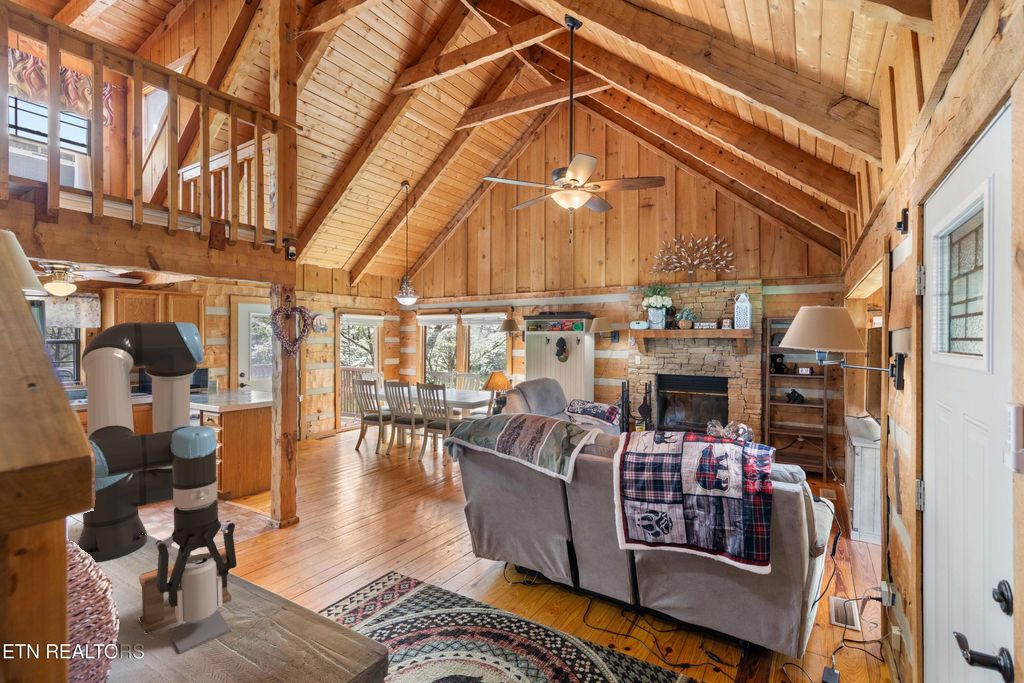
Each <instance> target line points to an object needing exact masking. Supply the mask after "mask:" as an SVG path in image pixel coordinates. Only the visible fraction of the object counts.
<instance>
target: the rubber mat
mask: <svg viewBox="0 0 1024 683" xmlns="http://www.w3.org/2000/svg"><path fill="white" fill-rule="evenodd" d="M230 632H232V628H231V627H230V625H229V624H228V622H227V621H226V620H225V618H224V616H223V615H222V614H221V612H220V611H219V610H218V609H217V610H216V611H215V612H214V613H213V615H212V616H211V617H209V618H208V619H206V620H204V621H201V622H197V623H188V622H185V623H182V624H181V623H180V624H178V625H176V626H175V627H172V628H170V629H168V634H169V636H170V637H171V640H172V642H173V643H174V646H175V647H176V650H177V651H178V653H179V654H183V653H185V652H188V651H189V650H192V649H194V648H196V647H199V646H201V645H203V644H205V643H207V642H210V641H213V640H215V639H217V638H219V637H222V636H224V635H225V634H227V633H230Z"/></svg>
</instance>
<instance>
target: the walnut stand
mask: <svg viewBox="0 0 1024 683" xmlns="http://www.w3.org/2000/svg"><path fill="white" fill-rule="evenodd" d="M220 549H221V548H219V549H218V548H217V550H220ZM220 556H221V558H222V560H223V562H224V563H226V562H227V560H226V554H223V555H220ZM155 570H158V568H156V569H154V570H149V571H146V572H144V573H141V574H140V575H143V574H146V573H149V572H152V571H155ZM217 571H218V569H217V567H216V572H217ZM164 594H165V593H162V594H161V593H159V591H158V589H157V576H156V577H153V578H150V579H147V580H145V585H144V586H141V595H142V596H141V598H142V599H141V601H142V603H141V604H142V615H140V616H138V618H140V621H141V623H142V626H143V628H142V630H143V629H144V631H145V633H148V634H150V633H153V632H155V631H157V630H160V629H162V628H165V627H168V626H170V625H173V624H176V623H179V622H178V621H177V619H176V617H175V607H173V608H172V607H171V606H170V604H169V605H167V606H165V595H164ZM232 598H233V597H232V595H231V594H230V592H229V590H228V585H227V586H226V587H225V588H223V589H222V605H224V604H225V603H228V602H230V601H232ZM140 621H139V622H140ZM142 626H141V627H142ZM144 631H143V632H144ZM152 631H153V632H152ZM149 632H150V633H149ZM145 633H144V634H145Z"/></svg>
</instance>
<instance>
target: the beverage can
mask: <svg viewBox="0 0 1024 683" xmlns="http://www.w3.org/2000/svg"><path fill="white" fill-rule="evenodd" d="M179 586H180V588H181V589H182V596H183V622H185V623H186V622H188V623H197V622H201V621H204V620H206V619H208V618H209V617H211V616H212V615H213V613H214V612H215V611H216V610H218V606H217V573H216V562H215V560H214V558H213V557H212V555H211V554H209V552H206V553H198V554H194V555H192V556H191V555H190V556H189V557H188V559H187V563H186V566H185V569H184V572H183V575H182V578H181V581H180V584H179Z"/></svg>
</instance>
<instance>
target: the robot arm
mask: <svg viewBox="0 0 1024 683" xmlns="http://www.w3.org/2000/svg"><path fill="white" fill-rule="evenodd" d="M203 363H204V350H203V344H202V340H201V335H200V332H199V329H198V326H197V325H196V324H195V323H192V322H179V321H162V322H160V321H157V322H156V321H155V322H148V321H147V322H132V321H131V322H130V321H129V322H128V321H127V322H122V323H118V324H114V325H112V326H109V327H107V328H106V329H103V330H102V331H100V332H98V333H97V334H96V335H95V336H94V337H93V338H92V339H91V340H90V341H89V342H87V345H86V346H85V348H84V349H83V351H82V354H81V369H82V370H83V372H84V373H85V375H87V377H86V379H87V383H86V384H87V385H86V386H87V387H86V388H87V389H86V390H87V392H86V393H87V403H86V404H87V412H86V413H87V420H86V421H87V425H86V426H87V427H86V428H87V431H86V432H87V440H89V442H90V444H91V447H92V449H93V451H94V453H95V458H96V464H95V490H96V500H95V507H94V511H90V512H87V513H84V514H83V513H82V520H83V523H82V524H83V526H82V530H81V533H80V536H79V537H78V538H79V539H78V542H77V544H76V546H77V545H79V547H80V548H81V549H82V550H84V551H85V552H87V553H88V554H90V555H91V556H92V558H93V559H94V560H95V561H96V562H104V561H108V560H109V561H110V560H113V559H117V558H120V557H123V556H127V555H130V554H131V553H134V552H136V551H137V550H139V549H140V548H142V547H143V546H145V545H146V543H147V541H148V532H147V529H146V527H145V525H144V523H143V522H142V520H141V517H140V515H139V507H144V506H149V505H155V504H158V503H161V502H162V503H164V502H168V501H172V502H173V503H172V504H173V505H172V506H173V507H174V509H173V531H172V534H171V536H169V537H168V538H166V539H164V540H161V539H160V540H157V541H155V547H156V549H157V551H158V555H157V556H158V557H157V560H158V561H157V569H158V571H157V589H158V591H159V593H161V594H162V593H164V594H165V593H167V594H168V604H169V605H170V606H171V607H172V608H173V607H175V617H176V619H177V621H178V622H177V623H178V624H181V623H183V622H184V621H183V596H182V589H181V588H180V581H181V578H182V575H183V572H184V569H185V566H186V563H187V559H188V558H189V557H191V553H192V552H194V551H196V550H197V549H200V548H203V549H204V548H207V550H208V553H210V554H211V555H212V557H213V558H214V560H215V562H216V567H217V569H218V571H217V572H216V573H217V608H221V607H222V606H223V604H222V589H223V588H225V587H226V586H227V587H228V575H229V571H230V570H231V569H235V568H236V567H237V556H236V549H235V548H236V547H235V541H234V532H235V528H236V524H235V523H234V522H233V521H232V520H230V519H228V520H226V522H225V521H224V522H221V521H220V520H219V505H218V503H219V501H217V498H218V481H217V480H218V478H217V477H218V476H217V447H218V442H217V436H216V430H215V428H213V427H211V426H206V425H195V426H194V425H190V424H191V416H190V415H191V376H192V375H194V374H195V373H196V371H197V370H198V369H197V366H198V365H201V364H203ZM143 367H144V373H145V374H146V375H148V376H149V377H150V378H151V395H152V396H151V397H152V399H151V401H152V405H151V406H152V407H151V408H152V432H150V433H142V434H136V435H135V429H134V427H135V426H134V415H133V402H132V394H131V393H132V392H131V380H130V379H131V378H130V372H131V371H132V369H133V368H143ZM219 531H220V532H222V533H223V534H222V535H223V545H224V548H225V552H226V560H227V562H226V563H224V562H223V560H222V558H221V556H220V554H219V552H218V548H217V545H216V542H215V541H214V539H215V538H216V535H217V534H218V533H219ZM142 533H143V534H142ZM145 534H146V535H147V536H146V535H145ZM174 543H175V544H176V545H177V546H178V551H177V557H176V559H175V562H174V564H175V565H174V564H173V565H174V568H173V571H172V574H171V577H168V566H169V561H170V560H169V558H170V556H169V555H170V554H169V551H171V549H172V545H173V544H174ZM96 562H95V563H96ZM168 579H169V580H168Z"/></svg>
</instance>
